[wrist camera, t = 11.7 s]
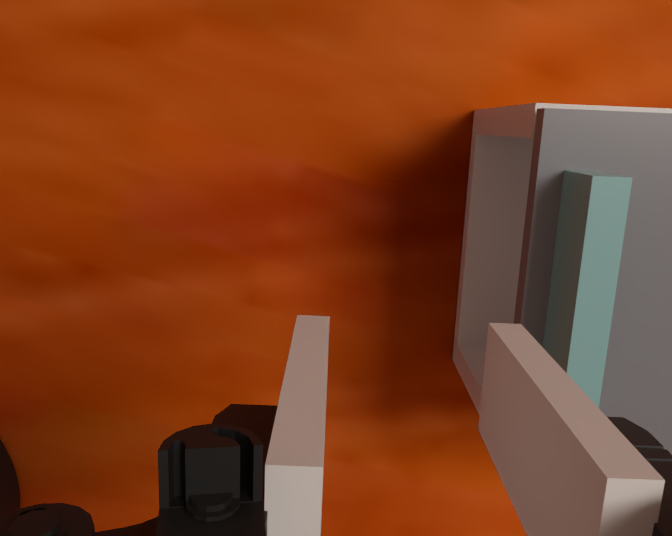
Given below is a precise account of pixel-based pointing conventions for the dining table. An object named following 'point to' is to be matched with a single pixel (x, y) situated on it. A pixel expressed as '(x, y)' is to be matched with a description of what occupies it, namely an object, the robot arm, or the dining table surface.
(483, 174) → the housing
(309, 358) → the robot arm
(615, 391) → the lid
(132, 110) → the dining table surface
